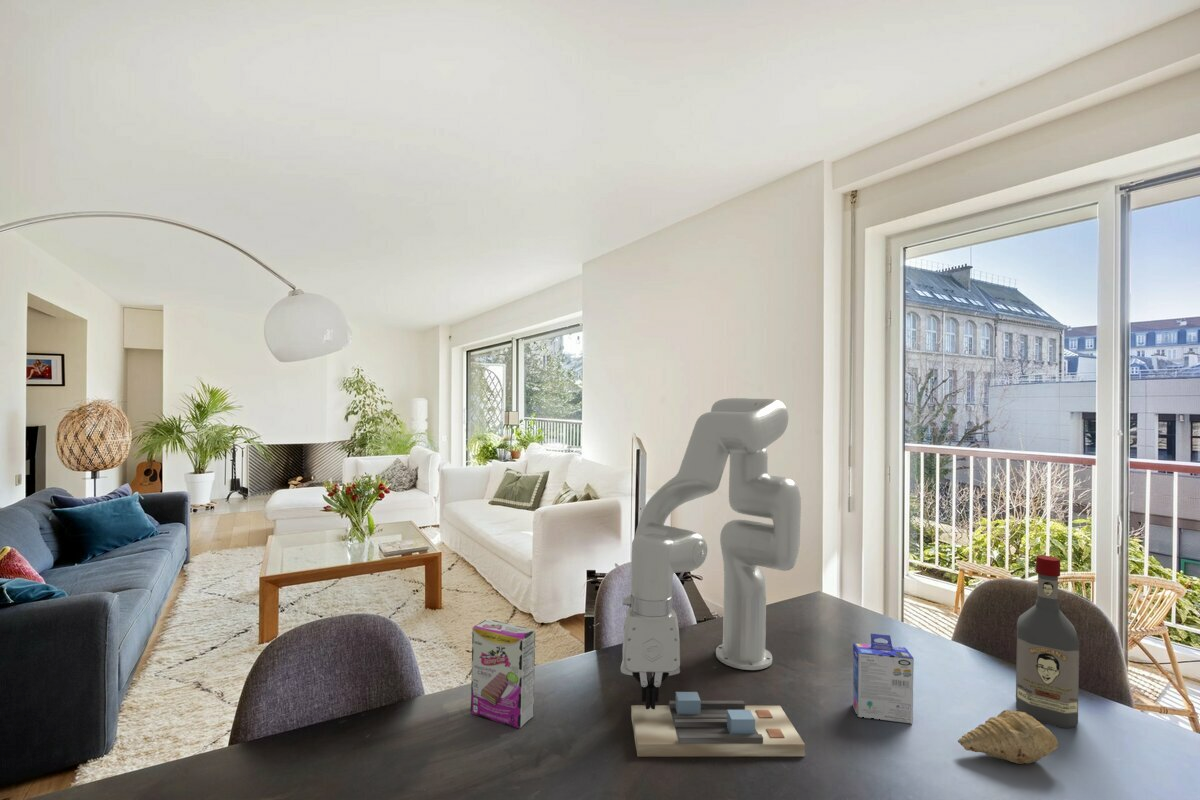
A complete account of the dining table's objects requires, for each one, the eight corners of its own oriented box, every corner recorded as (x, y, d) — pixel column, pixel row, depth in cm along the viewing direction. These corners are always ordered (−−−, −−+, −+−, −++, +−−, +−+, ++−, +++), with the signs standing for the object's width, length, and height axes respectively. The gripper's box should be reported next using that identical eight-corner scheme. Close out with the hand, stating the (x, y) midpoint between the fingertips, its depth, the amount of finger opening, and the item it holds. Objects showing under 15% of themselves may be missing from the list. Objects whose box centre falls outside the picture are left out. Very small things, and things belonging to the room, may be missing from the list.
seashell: (980, 777, 90) (981, 726, 90) (946, 745, 98) (947, 699, 98) (1063, 775, 91) (1064, 725, 91) (1023, 745, 99) (1023, 699, 99)
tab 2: (726, 727, 99) (727, 709, 99) (749, 727, 99) (749, 709, 99) (731, 737, 96) (731, 719, 96) (754, 737, 96) (755, 719, 96)
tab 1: (675, 708, 105) (675, 691, 105) (697, 708, 105) (697, 691, 105) (678, 717, 102) (678, 700, 102) (700, 717, 102) (700, 700, 102)
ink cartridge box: (905, 709, 110) (906, 634, 110) (915, 725, 105) (916, 646, 105) (850, 703, 112) (852, 629, 112) (857, 718, 107) (858, 641, 107)
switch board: (631, 716, 106) (631, 700, 106) (779, 716, 107) (780, 700, 107) (637, 756, 94) (637, 738, 94) (804, 756, 95) (805, 738, 95)
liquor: (1015, 696, 116) (1018, 549, 116) (1073, 711, 110) (1076, 557, 110) (1016, 716, 108) (1019, 558, 108) (1078, 733, 103) (1081, 567, 103)
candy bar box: (469, 715, 105) (470, 626, 105) (485, 702, 110) (486, 617, 110) (520, 731, 100) (521, 638, 101) (535, 717, 105) (536, 628, 105)
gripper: (611, 611, 99) (609, 716, 99) (696, 612, 99) (694, 717, 99) (609, 596, 107) (607, 694, 107) (688, 597, 107) (686, 694, 107)
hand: (649, 705), depth 103 cm, fingers closed
